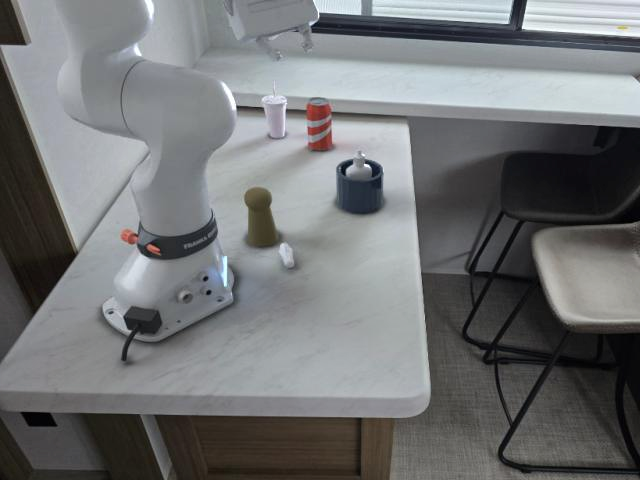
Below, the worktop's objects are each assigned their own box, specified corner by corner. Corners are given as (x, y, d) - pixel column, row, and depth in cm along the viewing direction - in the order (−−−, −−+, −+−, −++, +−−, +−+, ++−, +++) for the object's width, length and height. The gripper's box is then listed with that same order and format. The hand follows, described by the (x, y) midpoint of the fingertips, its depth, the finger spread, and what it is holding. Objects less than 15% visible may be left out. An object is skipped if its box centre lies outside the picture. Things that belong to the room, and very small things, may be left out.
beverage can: (304, 143, 145) (302, 97, 137) (328, 139, 147) (326, 95, 139) (312, 153, 141) (309, 107, 133) (335, 149, 143) (335, 104, 135)
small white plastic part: (273, 270, 105) (272, 257, 103) (281, 251, 109) (280, 239, 107) (292, 272, 105) (291, 259, 102) (299, 253, 109) (298, 240, 107)
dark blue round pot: (364, 219, 120) (365, 186, 114) (327, 203, 123) (326, 171, 118) (391, 199, 126) (392, 167, 121) (354, 185, 130) (355, 154, 125)
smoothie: (292, 131, 150) (288, 78, 141) (286, 141, 145) (281, 87, 136) (268, 128, 150) (263, 76, 141) (262, 139, 145) (256, 85, 136)
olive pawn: (271, 249, 110) (266, 201, 102) (243, 244, 110) (235, 196, 103) (282, 232, 114) (278, 185, 107) (255, 227, 115) (248, 180, 108)
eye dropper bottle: (369, 205, 123) (371, 155, 115) (344, 203, 123) (344, 153, 115) (372, 195, 126) (373, 146, 118) (347, 193, 126) (347, 144, 118)
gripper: (225, -18, 96) (264, 60, 100) (304, -32, 110) (336, 38, 114) (208, -1, 101) (246, 73, 105) (286, -16, 114) (318, 51, 118)
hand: (294, 55), depth 109 cm, fingers open, 8 cm apart
